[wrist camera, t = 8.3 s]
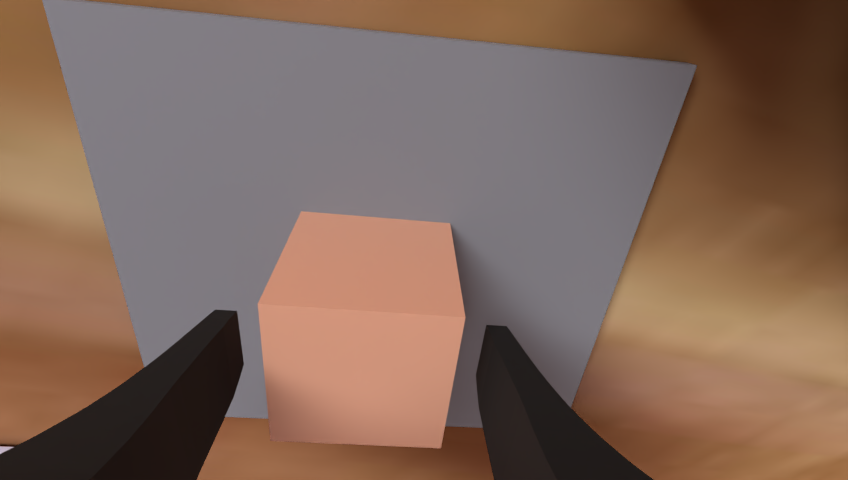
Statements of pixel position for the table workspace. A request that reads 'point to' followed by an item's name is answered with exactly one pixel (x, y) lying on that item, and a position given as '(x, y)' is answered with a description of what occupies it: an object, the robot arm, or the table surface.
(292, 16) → the table surface
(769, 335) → the table surface
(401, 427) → the terracotta cube
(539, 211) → the gray placemat
